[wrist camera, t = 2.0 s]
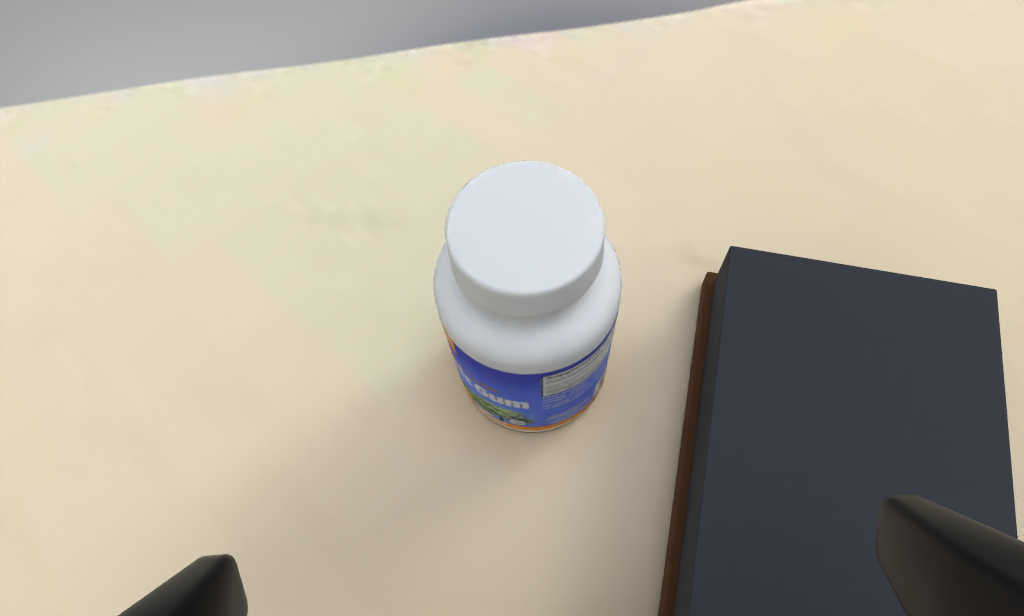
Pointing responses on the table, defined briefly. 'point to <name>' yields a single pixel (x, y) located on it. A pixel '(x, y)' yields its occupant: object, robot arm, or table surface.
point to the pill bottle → (528, 294)
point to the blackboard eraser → (828, 432)
